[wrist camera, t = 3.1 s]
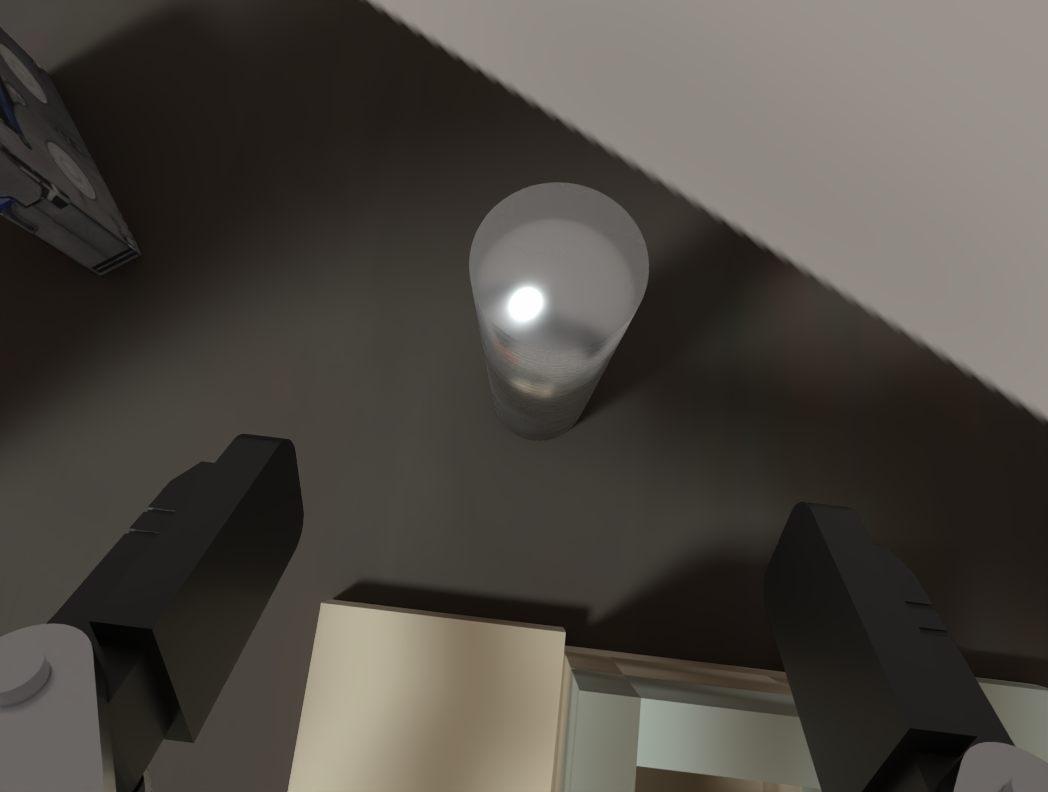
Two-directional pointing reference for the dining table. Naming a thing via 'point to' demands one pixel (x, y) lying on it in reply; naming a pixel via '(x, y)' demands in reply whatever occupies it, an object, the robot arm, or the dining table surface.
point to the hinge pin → (553, 300)
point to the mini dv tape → (53, 170)
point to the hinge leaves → (552, 713)
